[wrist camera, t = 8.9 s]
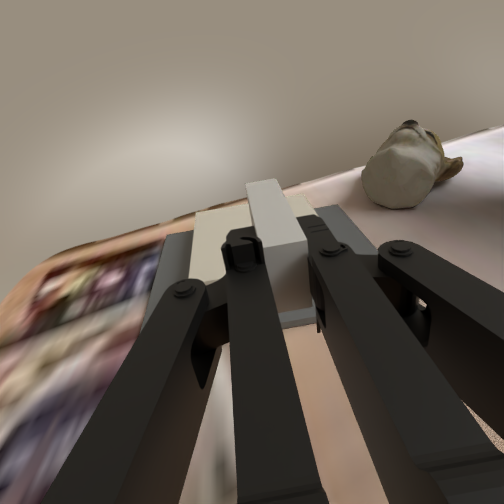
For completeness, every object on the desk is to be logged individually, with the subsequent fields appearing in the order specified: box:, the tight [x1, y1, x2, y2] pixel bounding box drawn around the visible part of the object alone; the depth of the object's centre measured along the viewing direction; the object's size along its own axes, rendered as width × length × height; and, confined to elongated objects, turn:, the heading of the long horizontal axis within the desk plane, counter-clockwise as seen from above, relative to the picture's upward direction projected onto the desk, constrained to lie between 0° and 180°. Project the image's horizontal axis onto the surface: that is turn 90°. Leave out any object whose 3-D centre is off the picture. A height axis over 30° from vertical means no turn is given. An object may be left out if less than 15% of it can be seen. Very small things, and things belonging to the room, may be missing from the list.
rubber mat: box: [140, 204, 378, 333], centre depth 32 cm, size 20×18×1 cm
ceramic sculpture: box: [361, 120, 463, 209], centre depth 39 cm, size 11×9×15 cm
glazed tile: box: [188, 194, 319, 285], centre depth 32 cm, size 12×2×14 cm
